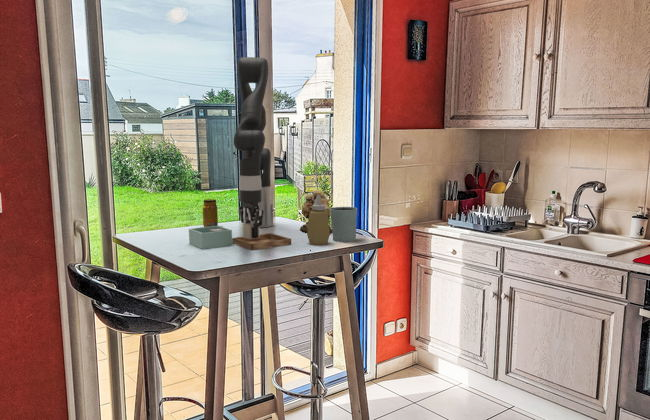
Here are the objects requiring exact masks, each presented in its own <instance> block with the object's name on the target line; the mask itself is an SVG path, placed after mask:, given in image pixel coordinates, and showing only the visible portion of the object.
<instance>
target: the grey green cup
mask: <svg viewBox="0 0 650 420" xmlns="http://www.w3.org/2000/svg"><path fill="white" fill-rule="evenodd" d="M329 208H330V207H329ZM330 217H331V229H332V231H333V232H332V234H331V236H332V240H333V241H334V242H336V243H337V242H338V243H351V242H356V240H357V220H358V219H357V218H358V208H357V207H354V206H334V207H331V208H330Z"/></svg>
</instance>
